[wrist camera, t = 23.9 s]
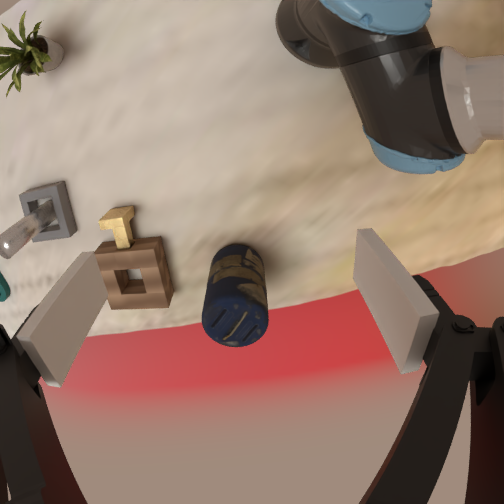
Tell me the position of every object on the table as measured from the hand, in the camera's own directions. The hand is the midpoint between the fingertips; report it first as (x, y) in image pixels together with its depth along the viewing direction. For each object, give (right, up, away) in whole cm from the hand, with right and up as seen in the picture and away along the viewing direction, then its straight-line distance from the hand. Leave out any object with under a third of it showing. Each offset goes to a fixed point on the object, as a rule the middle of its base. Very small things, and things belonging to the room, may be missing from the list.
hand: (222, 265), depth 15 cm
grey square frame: (-37, +9, +36) cm, 52 cm away
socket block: (-20, -2, +42) cm, 47 cm away
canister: (-1, -2, +42) cm, 43 cm away
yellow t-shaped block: (-21, +4, +38) cm, 44 cm away
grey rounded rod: (-37, +9, +36) cm, 52 cm away
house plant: (-35, +34, +23) cm, 54 cm away
